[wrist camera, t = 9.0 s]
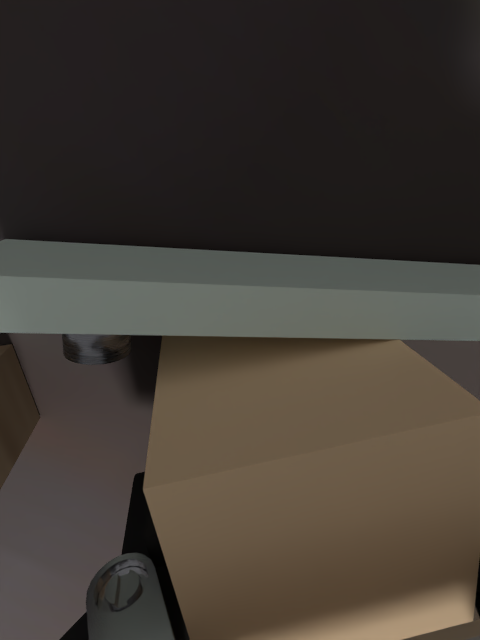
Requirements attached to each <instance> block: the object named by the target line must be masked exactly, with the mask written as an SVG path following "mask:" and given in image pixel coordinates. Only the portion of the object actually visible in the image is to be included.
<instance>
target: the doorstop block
mask: <svg viewBox="0 0 480 640" xmlns="http://www.w3.org/2000/svg"><path fill="white" fill-rule="evenodd" d="M143 491H144V494H145V498H146V501H147V504H148V507H149V510H150V514H151V517H152V520H153V523H154V526H155V529H156V533H157V536H158V539H159V542H160V545H161V549H162V552H163V555H164V558H165V561H166V565H167V568H168V571H169V574H170V577H171V581H172V584H173V587H174V590H175V593H176V597H177V600H178V603H179V606H180V609H181V612H182V616H183V619H184V622H185V625H186V628H187V632H188V635H189V638H190V640H402V639H406V638H410V637H414V636H418V635H421V634H425V633H429V632H433V631H437V630H441V629H444V628H448V627H452V626H456V625H460V624H464V623H468V622H472V621H473V618H474V608H475V598H476V588H477V578H478V568H479V558H480V401H479V400H478V399H477V398H475V397H474V396H473V395H472V394H470V393H469V392H468V391H466V390H465V389H464V388H462V387H461V386H460V385H458V384H457V383H456V382H454V381H453V380H452V379H450V378H449V377H448V376H447V375H445V374H444V373H443V372H441V371H440V370H439V369H437V368H436V367H435V366H433V365H432V364H431V363H429V362H428V361H427V360H426V359H424V358H423V357H422V356H420V355H419V354H418V353H416V352H415V351H414V350H412V349H411V348H410V347H408V346H407V345H406V344H405V343H403V342H402V341H401V340H399V339H342V338H284V337H225V336H167V335H162V341H161V349H160V357H159V365H158V373H157V381H156V389H155V397H154V405H153V413H152V421H151V429H150V437H149V445H148V453H147V461H146V468H145V476H144V484H143Z"/></svg>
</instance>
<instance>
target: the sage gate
mask: <svg viewBox="0 0 480 640" xmlns="http://www.w3.org/2000/svg"><path fill="white" fill-rule="evenodd" d="M0 333H50V334H62V340H63V354H64V356H65V358H66V359H68V360H70V361H72V362H75V363H80V364H89V365H95V364H106V363H111V362H115V361H118V360H120V359H123V358H124V357H126V356H127V355H128V354H129V353H130V351H131V335H167V336H225V337H284V338H342V339H401V340H459V341H480V265H473V264H454V263H436V262H418V261H399V260H381V259H363V258H345V257H326V256H308V255H290V254H271V253H253V252H235V251H216V250H198V249H180V248H161V247H143V246H125V245H106V244H88V243H70V242H52V241H33V240H15V239H4V240H2V241H0Z"/></svg>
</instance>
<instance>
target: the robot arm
mask: <svg viewBox="0 0 480 640" xmlns="http://www.w3.org/2000/svg"><path fill="white" fill-rule="evenodd" d="M144 476H145V472H142V473H137V474H136V475H135V477H134V481H133V487H132V493H131V499H130V506H129V512H128V518H127V524H126V530H125V536H124V543H123V549H122V555H120V556H118V557H116V558H114V559H112V560H111V561H109V562H108V563H106V564H105V565H104V566H103V567H102V568H101V569H100V570H99V571H98V572H97V574H96V575H95V576H94V578H93V579H92V581H91V583H90V585H89V588H88V590H87V597H86V609H87V612H86V613H85V614H84V615H83V616H82V617H81V618H80V619H79V620H78V621H77V622H76V623H75V624H74V625H73V626H72V627H71V628H70V629H69V630H68V631H67V632H66V633H65V634H64V635H63V637H62V638H61V639H60V640H190V638H189V635H188V632H187V628H186V625H185V622H184V619H183V616H182V612H181V609H180V606H179V603H178V600H177V597H176V593H175V590H174V587H173V584H172V581H171V577H170V574H169V571H168V568H167V565H166V561H165V558H164V555H163V552H162V549H161V545H160V542H159V539H158V536H157V533H156V529H155V526H154V523H153V520H152V517H151V514H150V510H149V507H148V504H147V501H146V498H145V494H144V491H143V484H144ZM402 640H480V558H479V568H478V578H477V588H476V598H475V608H474V618H473V621H472V622H468V623H464V624H460V625H456V626H452V627H448V628H444V629H441V630H437V631H433V632H429V633H425V634H421V635H418V636H414V637H410V638H406V639H402Z"/></svg>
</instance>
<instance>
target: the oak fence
mask: <svg viewBox="0 0 480 640" xmlns="http://www.w3.org/2000/svg"><path fill="white" fill-rule="evenodd" d="M39 419H40V416H39V413H38V411H37V408H36V405H35V403H34V400H33V398H32V395H31V392H30V390H29V387H28V385H27V382H26V379H25V377H24V374H23V372H22V369H21V367H20V364H19V361H18V359H17V356H16V354H15V351H14V348H13V346H12V344H9V345H4V346H0V489H1V487H2V486H3V484H4V482H5V480H6V478H7V476H8V475H9V473H10V471H11V469H12V467H13V466H14V464H15V462H16V460H17V458H18V457H19V455H20V453H21V451H22V449H23V448H24V446H25V444H26V442H27V440H28V439H29V437H30V435H31V433H32V431H33V430H34V428H35V426H36V424H37V422H38V421H39Z"/></svg>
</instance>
